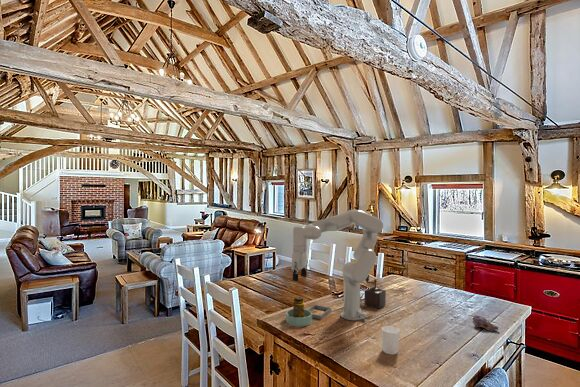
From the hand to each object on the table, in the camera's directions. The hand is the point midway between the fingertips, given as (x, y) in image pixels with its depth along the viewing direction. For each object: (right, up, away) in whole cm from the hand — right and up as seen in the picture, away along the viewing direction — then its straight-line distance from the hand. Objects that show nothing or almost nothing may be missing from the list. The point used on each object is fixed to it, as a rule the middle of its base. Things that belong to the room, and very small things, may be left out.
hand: (299, 278), depth 181 cm
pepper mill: (+48, -25, +30) cm, 62 cm away
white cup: (+41, -25, -33) cm, 58 cm away
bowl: (0, -24, 0) cm, 24 cm away
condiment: (-1, -23, 0) cm, 23 cm away
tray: (+11, -24, +12) cm, 29 cm away
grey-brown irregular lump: (+100, -25, -7) cm, 103 cm away
